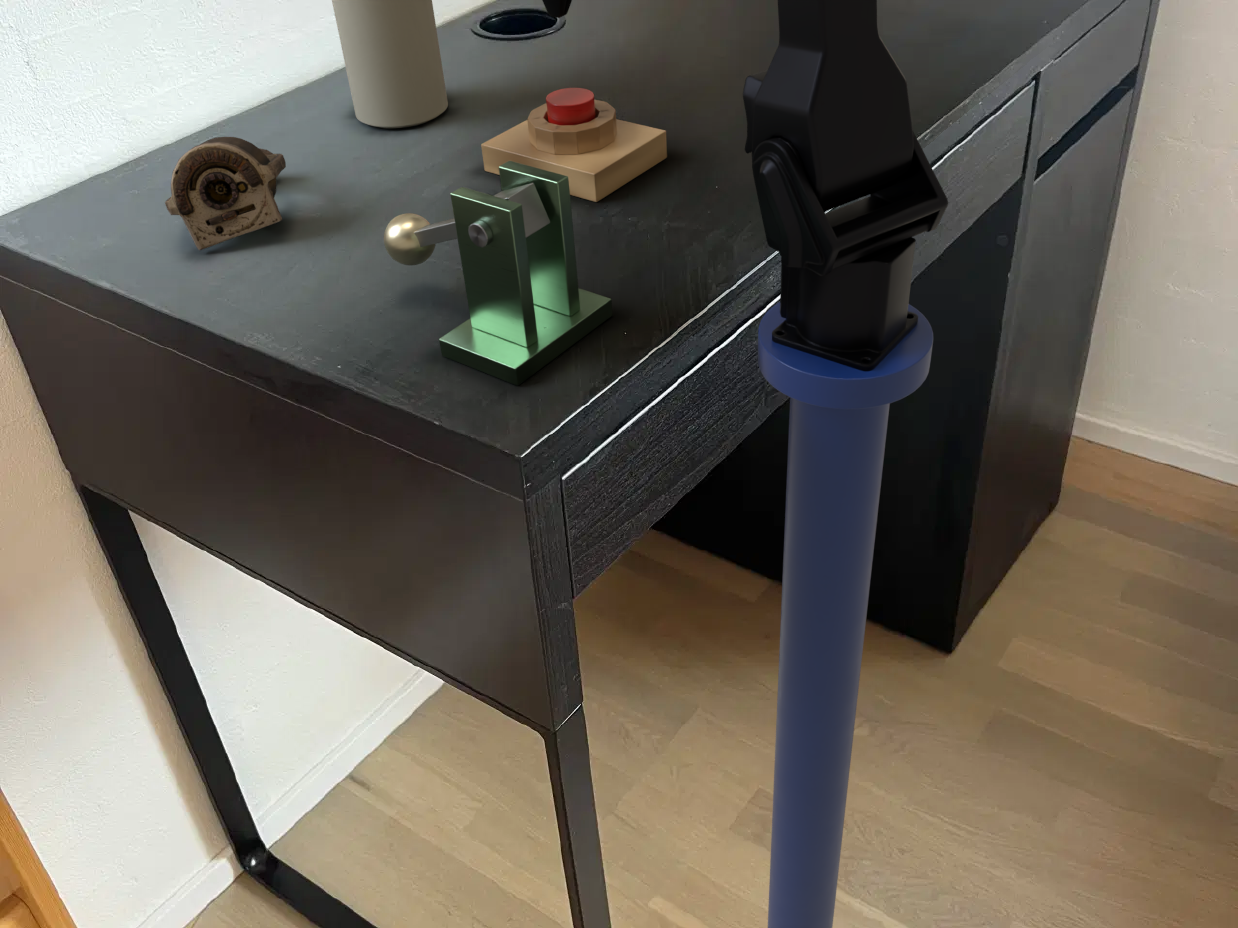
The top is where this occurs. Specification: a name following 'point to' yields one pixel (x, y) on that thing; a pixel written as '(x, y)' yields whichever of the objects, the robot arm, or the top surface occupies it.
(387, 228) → the lever
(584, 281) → the top surface
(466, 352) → the bracket
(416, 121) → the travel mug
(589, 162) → the button block
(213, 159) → the mechanical counter
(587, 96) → the button
